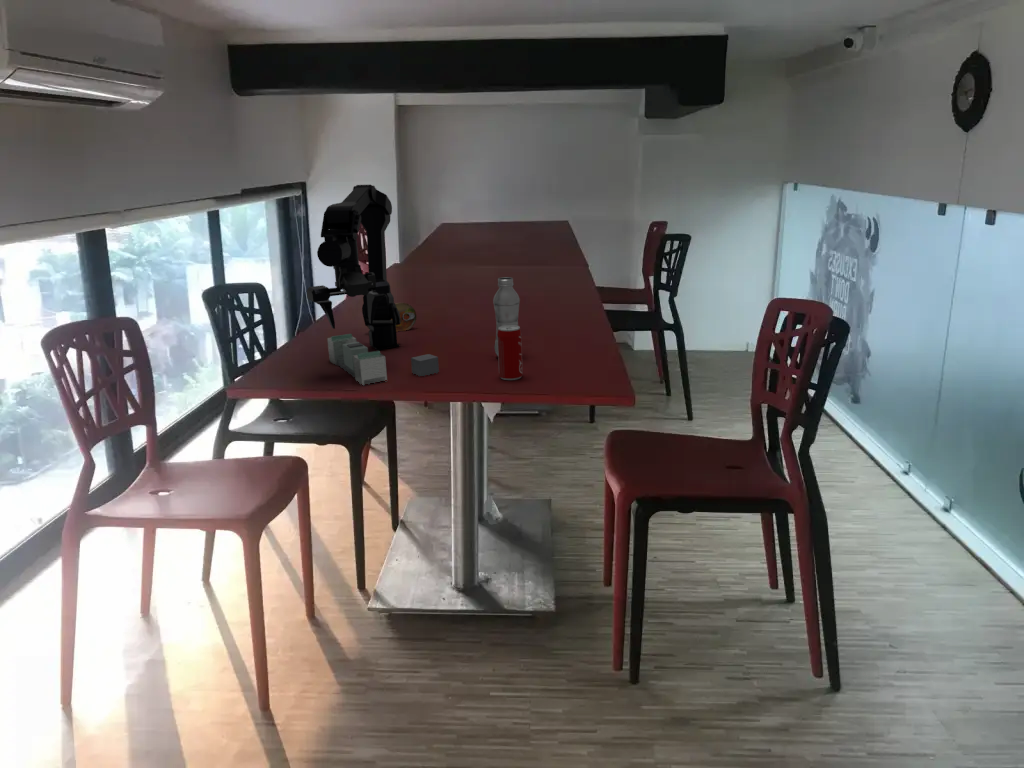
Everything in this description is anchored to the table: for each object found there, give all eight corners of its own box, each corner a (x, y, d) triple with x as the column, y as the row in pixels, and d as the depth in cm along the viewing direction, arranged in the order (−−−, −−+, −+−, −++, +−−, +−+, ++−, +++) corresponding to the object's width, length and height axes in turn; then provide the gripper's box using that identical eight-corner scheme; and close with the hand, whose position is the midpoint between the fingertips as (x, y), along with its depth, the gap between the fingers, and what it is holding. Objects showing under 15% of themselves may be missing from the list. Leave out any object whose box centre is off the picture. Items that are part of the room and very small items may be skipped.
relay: (429, 369, 189) (428, 353, 187) (439, 373, 186) (437, 357, 184) (412, 374, 186) (410, 357, 184) (421, 377, 183) (419, 361, 181)
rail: (352, 357, 202) (349, 331, 200) (387, 381, 180) (384, 352, 178) (329, 361, 199) (326, 335, 197) (362, 385, 177) (359, 356, 175)
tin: (367, 336, 225) (365, 307, 223) (365, 334, 228) (362, 305, 225) (417, 329, 231) (415, 301, 228) (414, 327, 234) (412, 299, 231)
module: (360, 361, 193) (358, 340, 192) (369, 367, 187) (367, 346, 186) (344, 363, 191) (342, 343, 190) (353, 370, 186) (351, 348, 184)
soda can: (523, 380, 177) (522, 328, 174) (500, 381, 177) (497, 329, 173) (521, 373, 183) (520, 323, 179) (498, 374, 182) (496, 324, 179)
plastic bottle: (491, 356, 198) (487, 277, 193) (515, 352, 201) (512, 275, 195) (500, 361, 193) (497, 281, 187) (525, 358, 195) (523, 278, 189)
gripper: (315, 268, 171) (323, 337, 175) (396, 260, 179) (401, 326, 184) (302, 263, 180) (310, 328, 185) (379, 255, 189) (385, 318, 193)
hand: (352, 325), depth 186 cm, fingers open, 9 cm apart
